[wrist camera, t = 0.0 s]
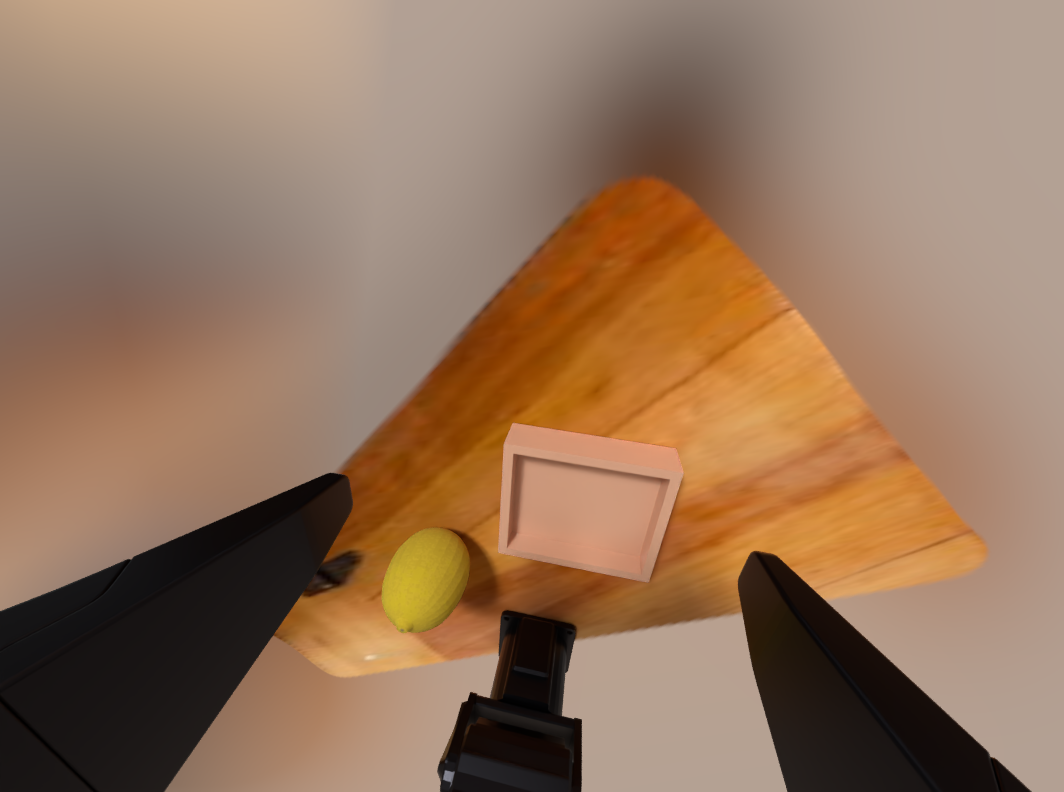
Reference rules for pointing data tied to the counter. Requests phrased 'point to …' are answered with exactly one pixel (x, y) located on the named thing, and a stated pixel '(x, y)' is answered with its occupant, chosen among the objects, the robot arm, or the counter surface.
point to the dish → (586, 500)
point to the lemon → (425, 580)
